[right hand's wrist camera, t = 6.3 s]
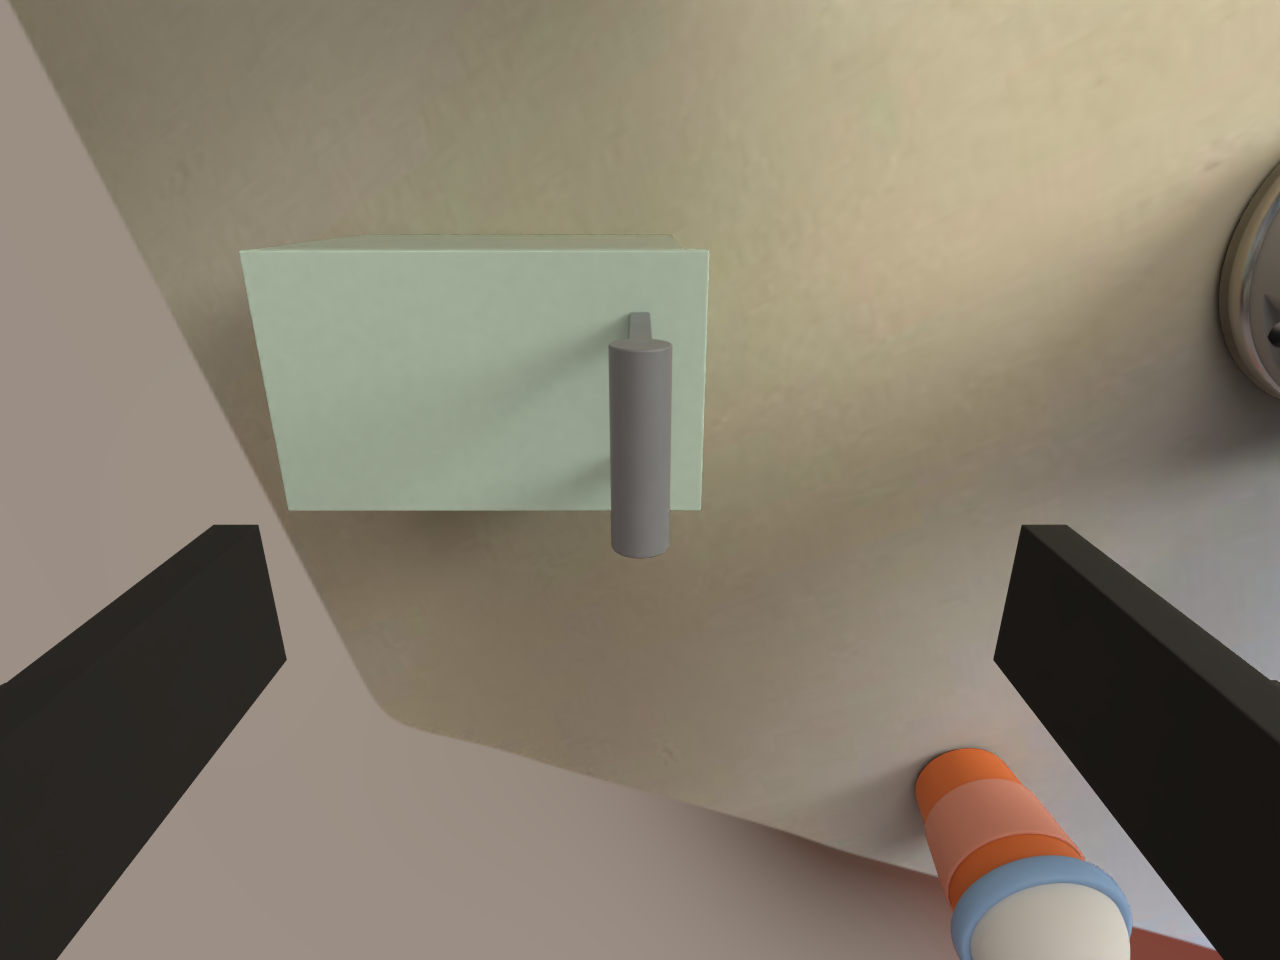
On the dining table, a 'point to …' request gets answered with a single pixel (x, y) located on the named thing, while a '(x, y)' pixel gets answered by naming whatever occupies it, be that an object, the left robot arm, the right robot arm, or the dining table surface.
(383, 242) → the chest
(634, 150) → the dining table surface
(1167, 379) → the dining table surface
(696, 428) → the lid
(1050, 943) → the cup with straw
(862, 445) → the dining table surface
